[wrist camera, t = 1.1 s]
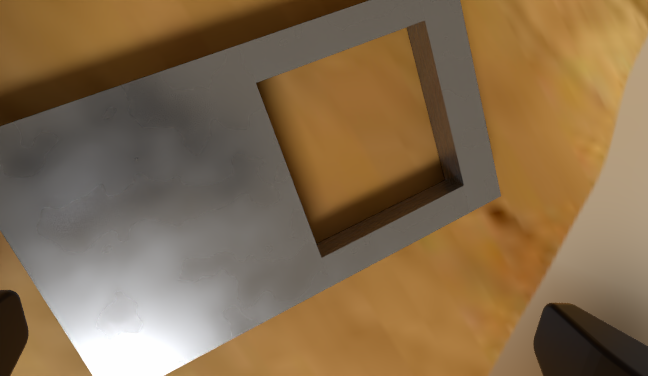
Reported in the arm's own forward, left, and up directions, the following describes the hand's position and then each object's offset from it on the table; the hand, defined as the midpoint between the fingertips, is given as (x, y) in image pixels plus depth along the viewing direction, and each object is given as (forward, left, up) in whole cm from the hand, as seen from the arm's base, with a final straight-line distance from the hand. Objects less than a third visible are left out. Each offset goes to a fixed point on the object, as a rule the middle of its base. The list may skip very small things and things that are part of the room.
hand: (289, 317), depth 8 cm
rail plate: (+3, -1, -12) cm, 12 cm away
